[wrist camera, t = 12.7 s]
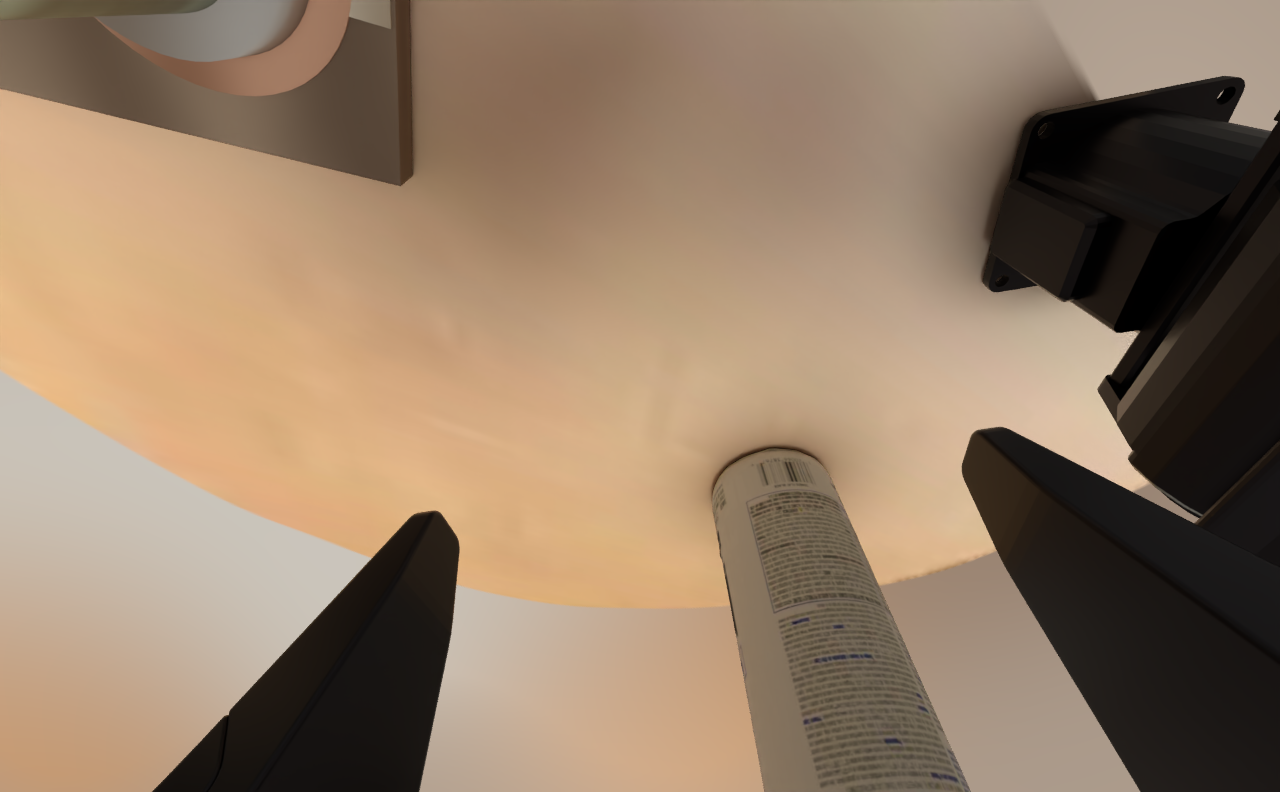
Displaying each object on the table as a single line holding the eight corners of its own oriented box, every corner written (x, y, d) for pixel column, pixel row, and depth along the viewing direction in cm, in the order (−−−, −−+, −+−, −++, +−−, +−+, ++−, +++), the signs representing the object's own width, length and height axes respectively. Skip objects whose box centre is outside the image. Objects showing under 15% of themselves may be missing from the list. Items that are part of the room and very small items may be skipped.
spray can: (684, 493, 28) (763, 1102, 13) (776, 423, 25) (1030, 1114, 10) (762, 537, 31) (906, 1080, 16) (854, 478, 28) (1148, 1084, 12)
